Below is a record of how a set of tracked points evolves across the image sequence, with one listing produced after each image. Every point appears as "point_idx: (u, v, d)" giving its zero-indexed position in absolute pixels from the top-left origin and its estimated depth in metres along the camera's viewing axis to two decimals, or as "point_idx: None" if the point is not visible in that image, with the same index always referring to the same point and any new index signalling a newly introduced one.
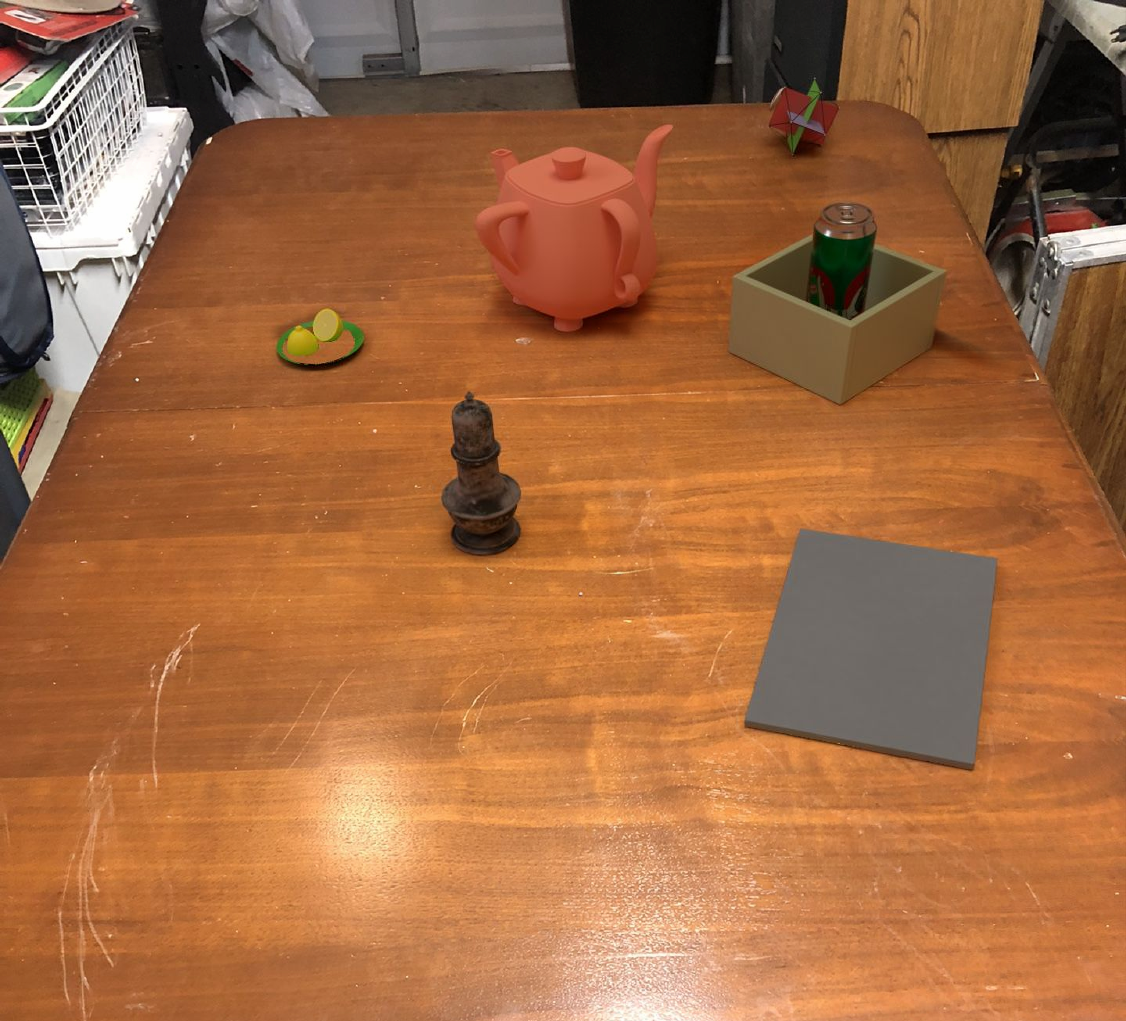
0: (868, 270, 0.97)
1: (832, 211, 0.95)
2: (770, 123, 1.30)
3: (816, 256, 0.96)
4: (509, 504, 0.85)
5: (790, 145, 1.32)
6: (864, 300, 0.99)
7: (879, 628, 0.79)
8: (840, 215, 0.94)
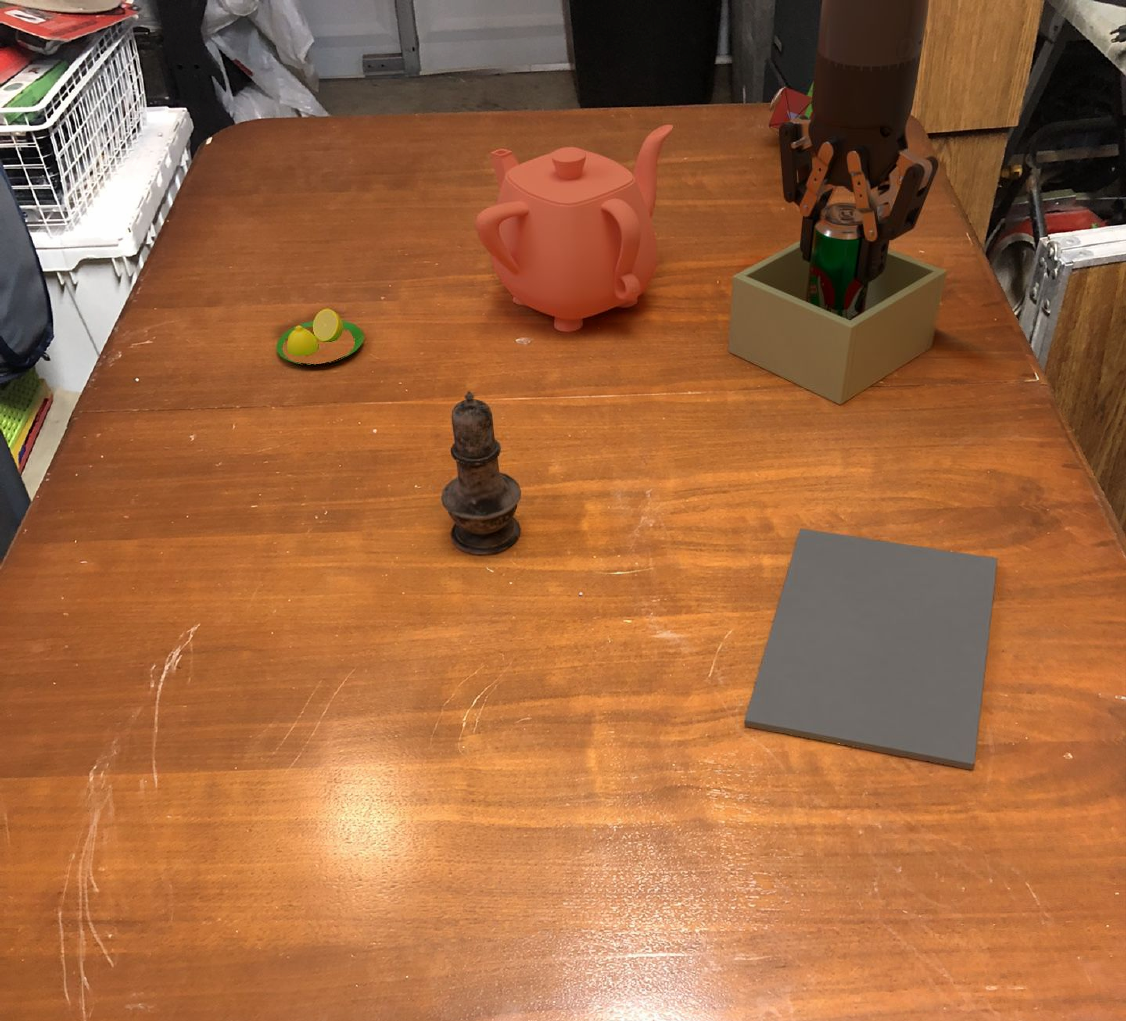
0: None
1: (832, 211, 0.95)
2: (770, 123, 1.30)
3: (817, 256, 0.96)
4: (509, 504, 0.85)
5: None
6: (864, 300, 0.99)
7: (879, 628, 0.79)
8: (840, 215, 0.94)
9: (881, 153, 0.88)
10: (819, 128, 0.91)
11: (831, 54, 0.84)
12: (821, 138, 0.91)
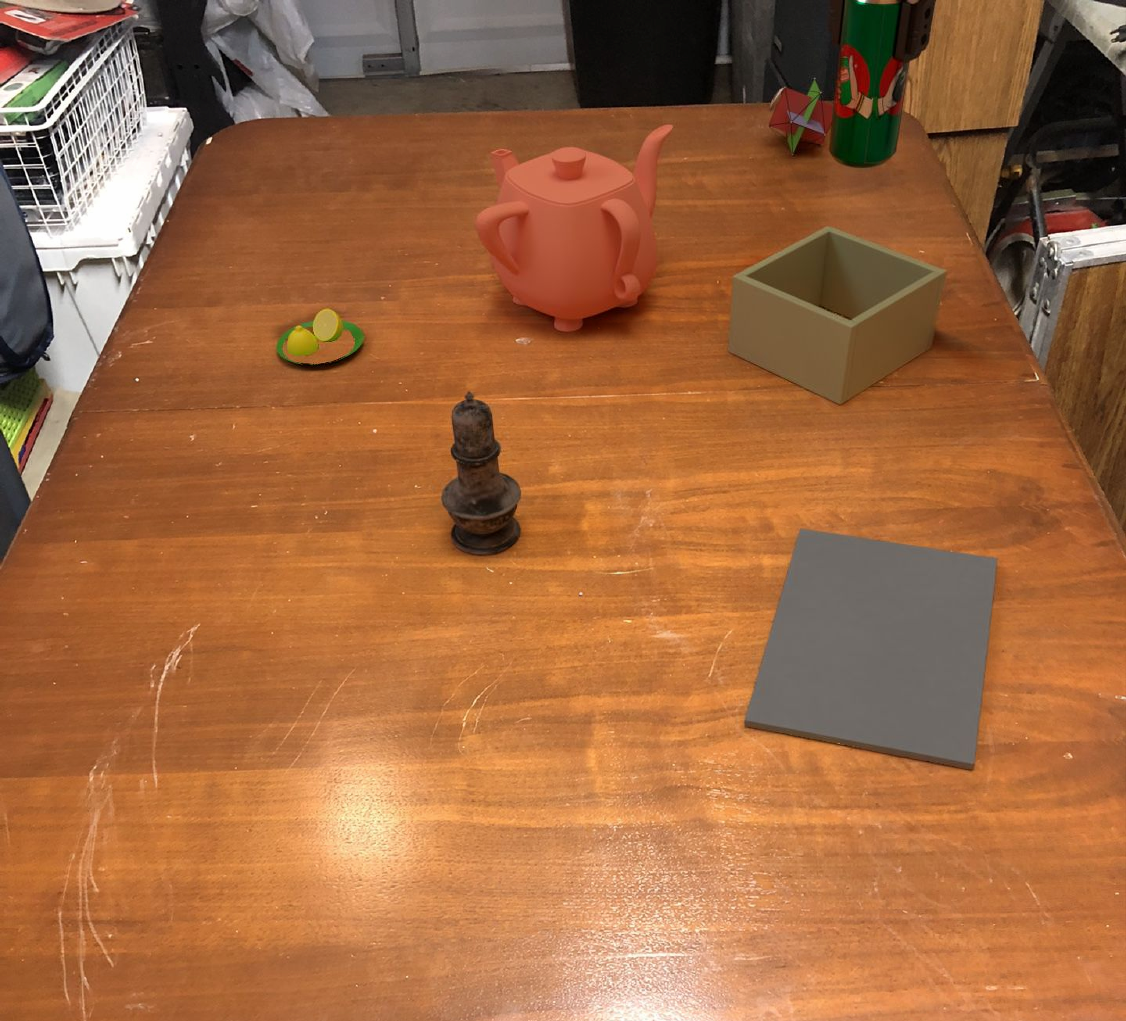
0: None
1: None
2: (770, 123, 1.30)
3: (848, 30, 0.82)
4: (509, 504, 0.85)
5: (790, 145, 1.32)
6: (903, 89, 0.85)
7: (879, 628, 0.79)
8: None
9: None
10: None
11: None
12: None
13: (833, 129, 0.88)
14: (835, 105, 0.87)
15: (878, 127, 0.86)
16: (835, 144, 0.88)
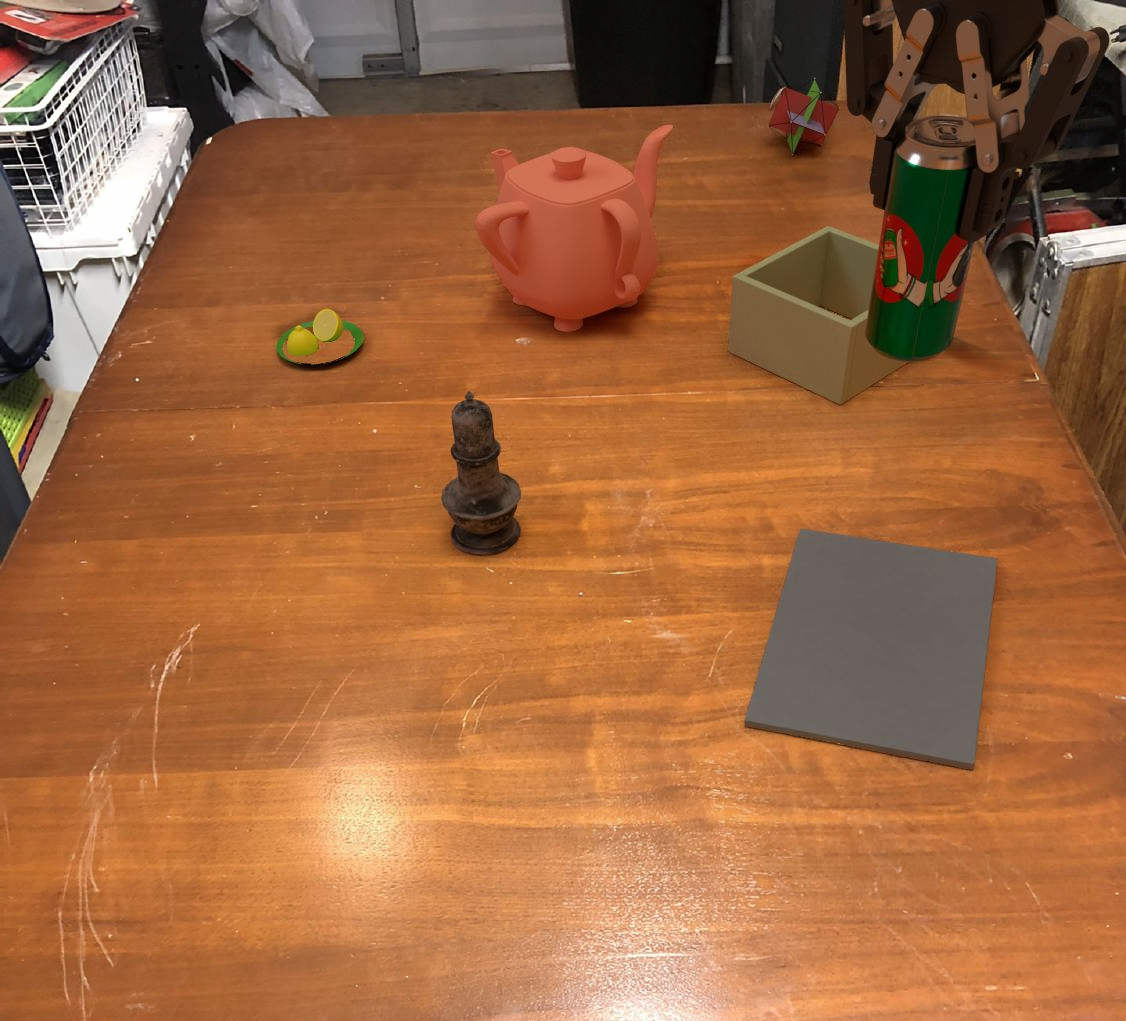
0: None
1: (924, 127, 0.61)
2: (770, 123, 1.30)
3: (897, 197, 0.62)
4: (509, 504, 0.85)
5: (790, 145, 1.32)
6: (967, 269, 0.65)
7: (879, 628, 0.79)
8: (937, 133, 0.60)
9: (1015, 22, 0.54)
10: None
11: None
12: (913, 5, 0.57)
13: (872, 313, 0.67)
14: (876, 284, 0.66)
15: (933, 317, 0.65)
16: (875, 332, 0.68)
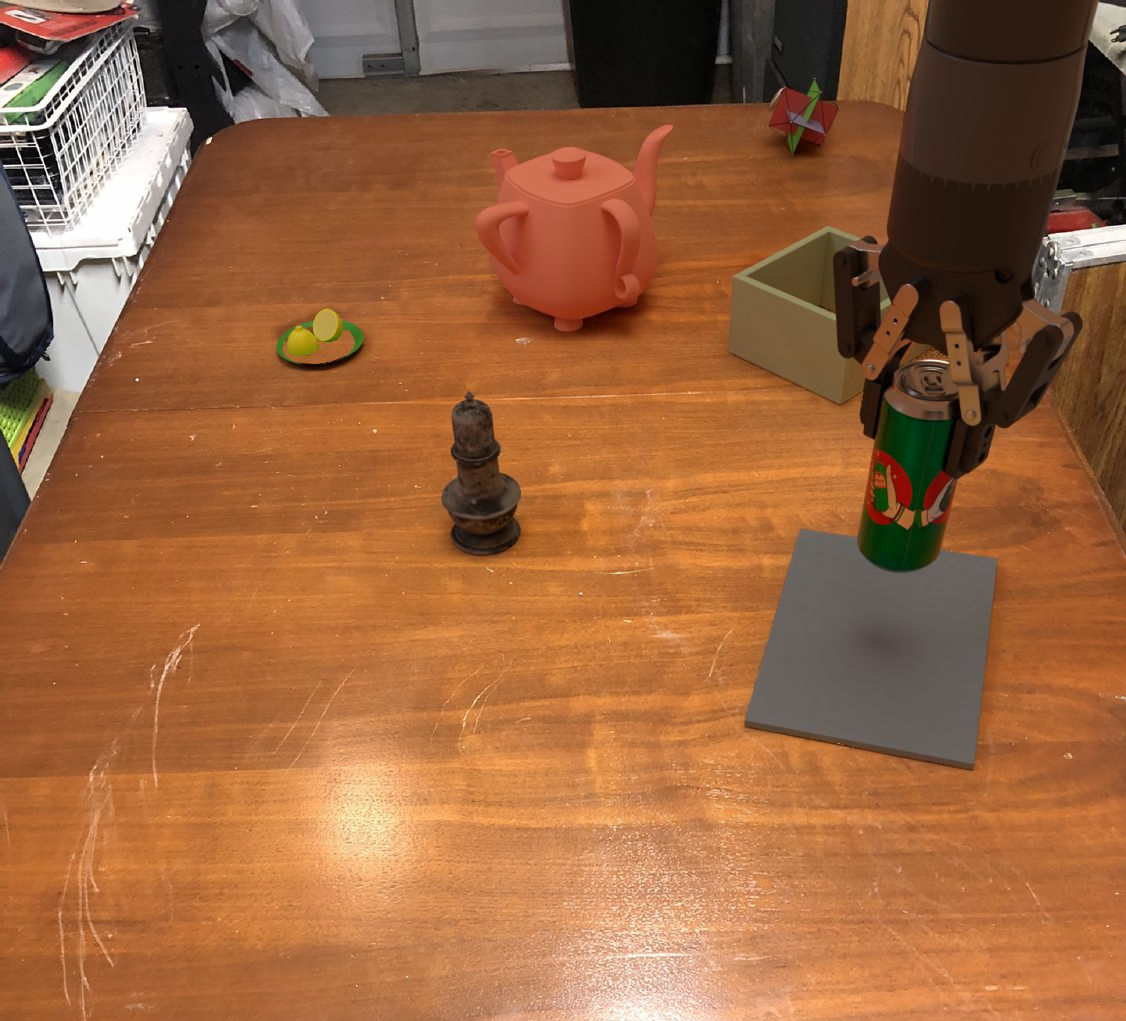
0: None
1: (910, 376, 0.65)
2: (770, 123, 1.30)
3: (886, 438, 0.66)
4: (509, 504, 0.85)
5: (790, 145, 1.32)
6: (952, 495, 0.68)
7: (879, 628, 0.79)
8: (923, 383, 0.64)
9: (994, 306, 0.58)
10: (896, 261, 0.61)
11: (925, 163, 0.54)
12: (899, 275, 0.61)
13: (864, 528, 0.71)
14: (867, 505, 0.70)
15: (921, 537, 0.69)
16: (866, 545, 0.71)
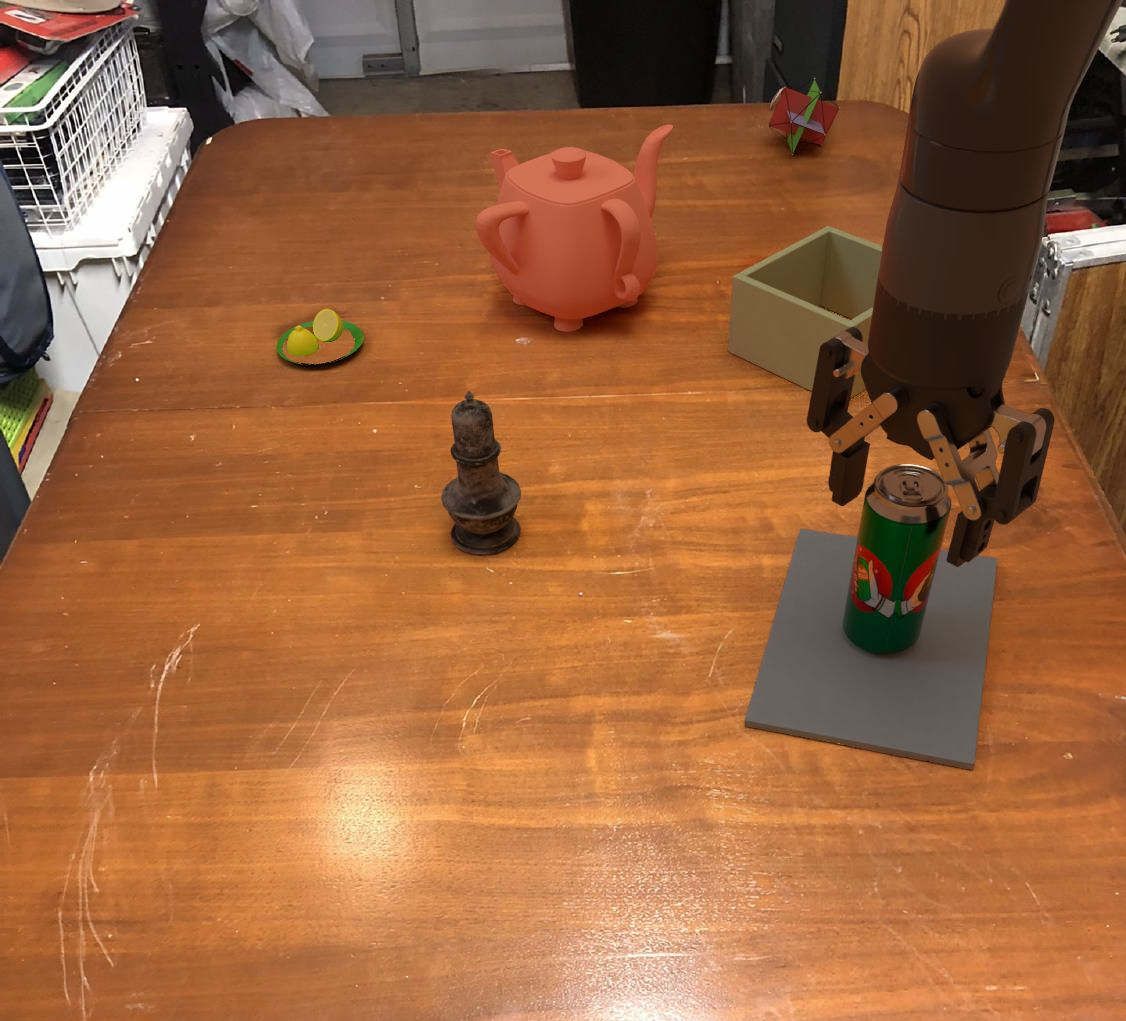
0: (938, 554, 0.71)
1: (890, 480, 0.70)
2: (770, 123, 1.30)
3: (868, 536, 0.71)
4: (509, 504, 0.85)
5: (790, 145, 1.32)
6: (930, 586, 0.74)
7: None
8: (902, 488, 0.69)
9: (967, 417, 0.62)
10: (877, 371, 0.65)
11: (901, 293, 0.58)
12: (877, 384, 0.66)
13: (848, 614, 0.76)
14: (851, 593, 0.75)
15: (901, 624, 0.74)
16: (851, 630, 0.77)
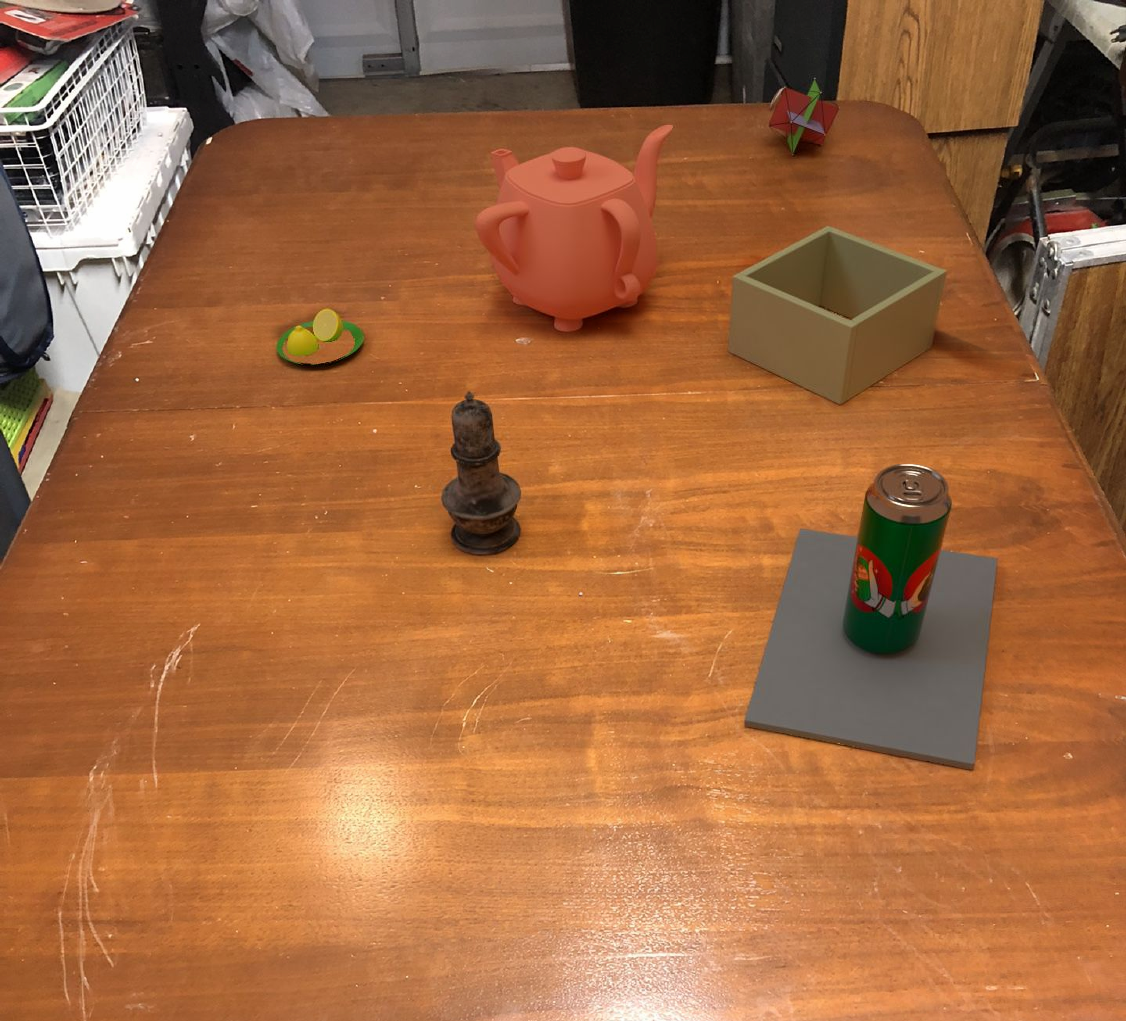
0: (938, 554, 0.71)
1: (890, 480, 0.70)
2: (770, 123, 1.30)
3: (868, 536, 0.71)
4: (509, 504, 0.85)
5: (790, 145, 1.32)
6: (930, 586, 0.74)
7: None
8: (902, 488, 0.69)
9: None
10: None
11: None
12: None
13: (848, 614, 0.76)
14: (851, 593, 0.75)
15: (901, 624, 0.74)
16: (851, 629, 0.77)
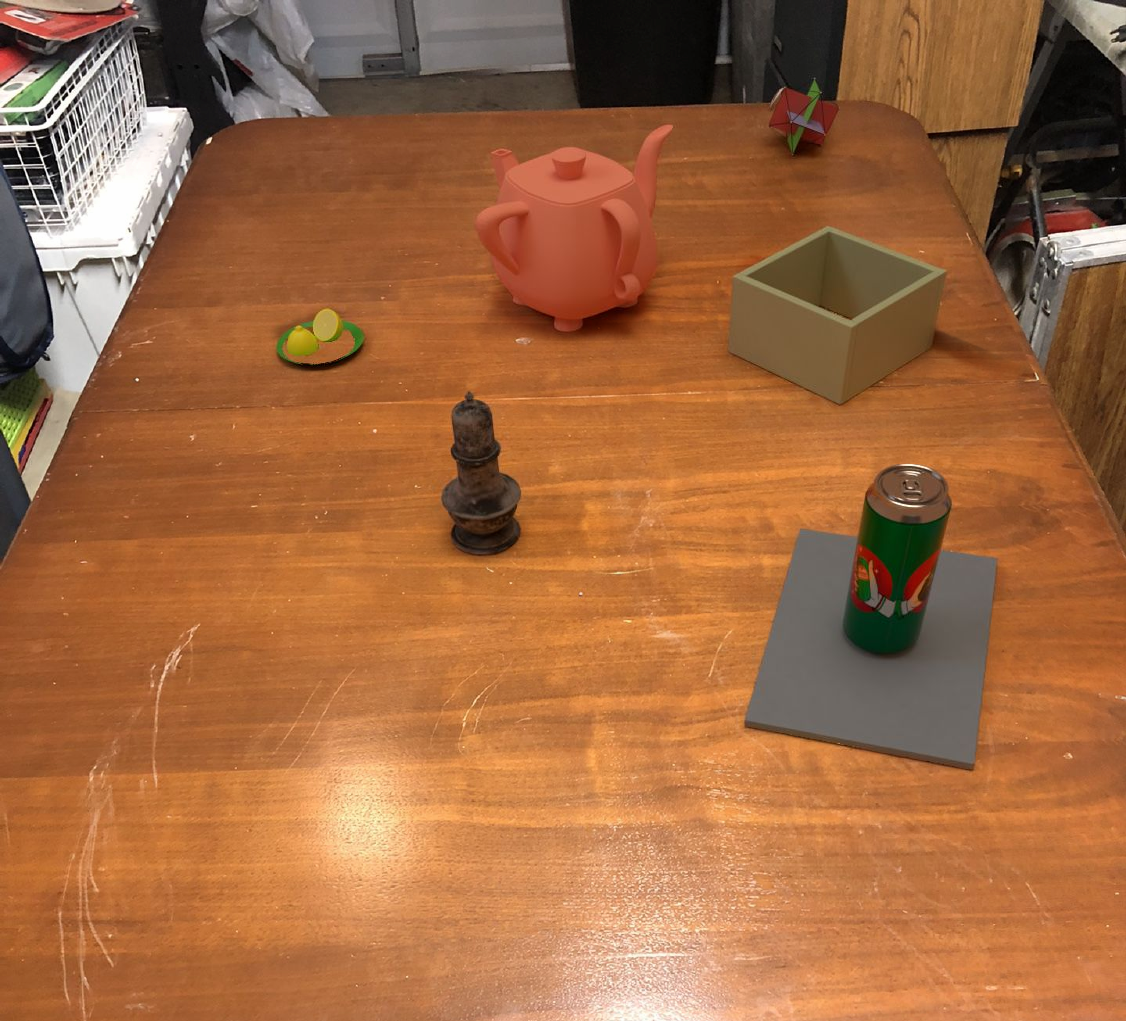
0: (938, 554, 0.71)
1: (890, 480, 0.70)
2: (770, 123, 1.30)
3: (868, 536, 0.71)
4: (509, 504, 0.85)
5: (790, 145, 1.32)
6: (930, 586, 0.74)
7: None
8: (902, 488, 0.69)
9: None
10: None
11: None
12: None
13: (848, 614, 0.76)
14: (851, 593, 0.75)
15: (901, 624, 0.74)
16: (851, 629, 0.77)
